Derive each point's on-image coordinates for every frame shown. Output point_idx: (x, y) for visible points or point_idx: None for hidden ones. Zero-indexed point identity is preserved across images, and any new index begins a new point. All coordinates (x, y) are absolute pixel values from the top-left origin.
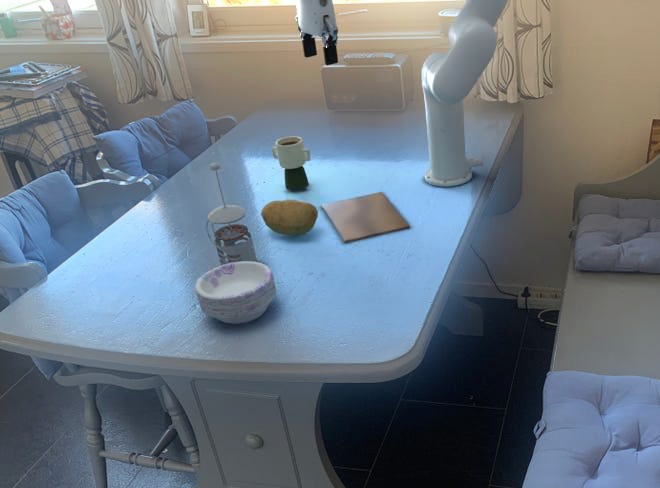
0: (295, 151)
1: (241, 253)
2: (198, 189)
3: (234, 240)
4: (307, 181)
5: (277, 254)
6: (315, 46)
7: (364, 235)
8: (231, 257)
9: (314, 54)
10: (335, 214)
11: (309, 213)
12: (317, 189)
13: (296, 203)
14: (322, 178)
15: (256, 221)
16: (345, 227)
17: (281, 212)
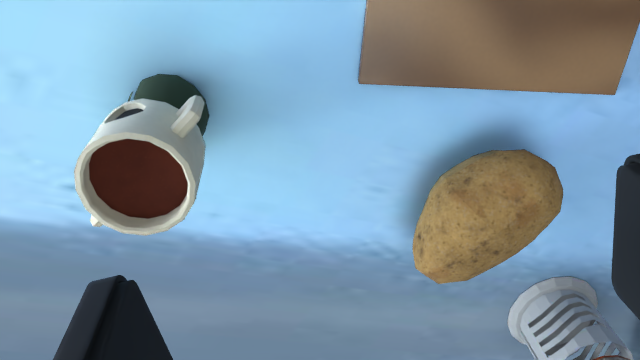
0: (197, 164)
1: (619, 348)
2: (46, 341)
3: (543, 350)
4: (182, 85)
5: (539, 242)
6: (103, 357)
7: (630, 36)
8: (524, 334)
9: (144, 310)
10: (450, 67)
11: (561, 188)
12: (213, 55)
13: (520, 219)
14: (121, 9)
15: (338, 252)
16: (548, 68)
17: (513, 253)
